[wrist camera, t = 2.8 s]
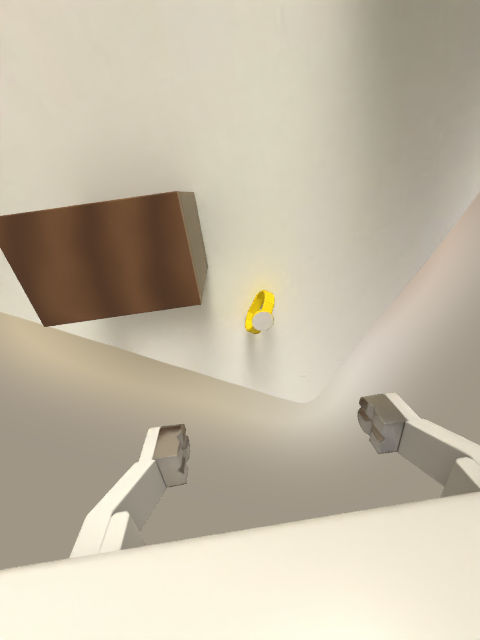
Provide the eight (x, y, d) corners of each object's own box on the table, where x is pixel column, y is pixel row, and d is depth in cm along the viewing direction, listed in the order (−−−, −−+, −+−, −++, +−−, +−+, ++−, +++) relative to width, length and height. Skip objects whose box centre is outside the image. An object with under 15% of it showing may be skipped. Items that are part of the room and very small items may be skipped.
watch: (255, 324, 38) (261, 345, 33) (239, 317, 37) (242, 337, 32) (274, 290, 36) (283, 307, 30) (257, 282, 35) (263, 298, 30)
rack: (194, 192, 29) (176, 190, 18) (207, 266, 34) (201, 304, 22) (76, 208, 29) (-17, 218, 18) (105, 281, 34) (44, 327, 22)
